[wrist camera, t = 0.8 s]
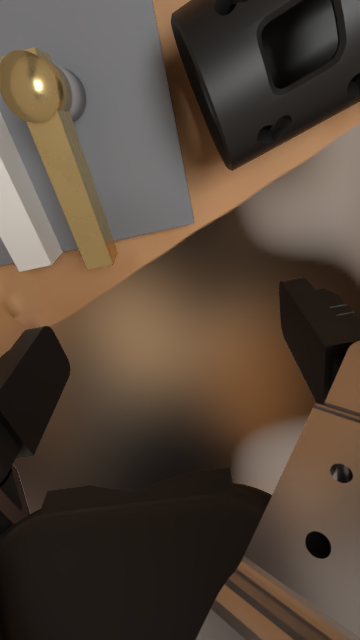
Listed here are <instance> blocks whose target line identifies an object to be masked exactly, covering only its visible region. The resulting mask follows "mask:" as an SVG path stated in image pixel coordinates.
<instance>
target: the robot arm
mask: <svg viewBox="0 0 360 640" xmlns="http://www.w3.org/2000/svg"><path fill="white" fill-rule="evenodd" d="M279 299H280V317H281V328H282V332H283V336H284V339H285V341H286V343H287V345H288V347H289V349H290V351H291V353H292V355H293V357H294V359H295V361H296V363H297V365H298V367H299V369H300V371H301V373H302V375H303V377H304V379H305V381H306V383H307V385H308V387H309V389H310V391H311V393H312V395H313V397H314V399H315V401H316V404H315V405H314V407H313V409H312V411H311V413H310V415H309V418H308V419H307V422H306V424H305V426H304V428H303V430H302V432H301V434H300V437H299V439H298V441H297V443H296V445H295V447H294V450H293V452H292V454H291V456H290V458H289V460H288V462H287V465H286V467H285V469H284V471H283V473H282V475H281V477H280V480H279V482H278V484H277V486H276V488H275V490H274V492H273V494H272V495H271V494H269V493H267V492H264V491H262V490H259V489H257V488H254V487H251V486H247V485H243V484H237V483H233V479H232V475H231V470H230V468H224V469H216V470H208V471H200V472H192V473H185V474H181V475H178V476H176V477H173V478H171V479H168V480H165V481H163V482H160V483H158V484H155V485H153V486H150V487H147V488H145V489H142V490H140V491H137V492H127V491H120V490H114V489H107V488H102V487H96V486H83V487H75V488H68V489H60V490H53V491H48V492H47V494H46V497H45V500H44V503H43V505H42V508H41V509H39V510H37V511H36V512H34V513H32V514H30V511H29V507H28V504H27V501H26V497H25V494H24V490H23V487H22V484H21V481H20V477H19V474H18V471H17V469H16V468H15V467H14V465H13V463H14V461H15V459H16V458H20V457H27V456H33V455H34V454H35V452H36V449H37V447H38V445H39V443H40V440H41V438H42V436H43V434H44V431H45V429H46V427H47V425H48V423H49V420H50V418H51V416H52V414H53V411H54V409H55V407H56V405H57V402H58V400H59V398H60V396H61V394H62V391H63V389H64V387H65V385H66V382H67V380H68V378H69V375H70V364H69V361H68V358H67V356H66V355H65V353H64V351H63V349H62V347H61V345H60V343H59V341H58V339H57V337H56V336H55V333H54V332H53V330H52V329H51V328H50V327H48V326H44V327H39V328H34V329H28V330H26V331H24V332H23V333H22V335H21V336H20V337H19V339H18V340H17V341H16V343H15V344H14V345H13V347H12V348H11V349H10V350H9V351H8V352H6V353H5V354H4V355H3V356H1V358H0V640H360V317H359V316H358V315H357V314H356V313H354V311H353V310H352V309H351V308H350V307H349V306H347V305H346V303H345V302H344V301H343V300H342V299H341V298H340V297H339V295H337V294H335V293H333V292H330V291H327V290H326V289H320V290H315V289H314V288H313V287H312V285H311V284H310V283H309V282H308V281H307V279H306V278H304V277H302V278H297V279H291V280H286V281H281V282H280V283H279Z"/></svg>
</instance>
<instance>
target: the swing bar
mask: <svg viewBox="0 0 360 640" xmlns="http://www.w3.org/2000/svg"><path fill="white" fill-rule="evenodd" d="M0 59H1V63H0V93H1V96H2V98H3V100H4V102H5V103H6V105H7V106H8V108H9V109H10V110H11V111H12V112H13V113H14V114H15V115H16V116H18V117H19V118H21V119H22V120H25V121H26V122H27V125H28V127H29V130H30V132H31V135H32V137H33V139H34V142H35V144H36V147H37V149H38V151H39V154H40V156H41V159H42V161H43V164H44V166H45V168H46V171H47V173H48V176H49V178H50V181H51V183H52V185H53V188H54V190H55V193H56V195H57V198H58V200H59V202H60V205H61V207H62V210H63V212H64V214H65V217H66V219H67V222H68V224H69V227H70V229H71V231H72V234H73V236H74V239H75V241H76V244H77V246H78V248H79V251H80V253H81V256H82V258H83V261H84V263H85V265H86V268H87V270H90V269H95V268H100V267H104V266H109V265H113V263H114V261H115V258H116V256H117V254H118V252H117V249H116V246H115V243H114V240H113V237H112V234H111V231H110V229H109V226H108V223H107V220H106V217H105V214H104V211H103V208H102V205H101V202H100V199H99V196H98V194H97V191H96V188H95V185H94V182H93V179H92V176H91V173H90V170H89V167H88V164H87V161H86V159H85V156H84V153H83V150H82V147H81V144H80V141H79V138H78V135H77V132H76V129H75V127H74V124H73V121H72V118H71V115H70V112H69V111H70V109H71V106H72V90H71V86H70V83H69V81H68V79H67V77H66V75H65V74H64V72H63V71H62V70H61V69H60V68H59V67H58V66H57V65H56V64H54V63H53V62H52V59H51V57H50V55H49V54H47V53H45V52H43V51H41V50H39V49H37V48H35V47H33V48H30V49H26V50H16V51H12V52H10V53H8V54H7V55H6V56H3V57H0Z"/></svg>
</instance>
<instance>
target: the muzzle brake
mask: <svg viewBox="0 0 360 640" xmlns="http://www.w3.org/2000/svg"><path fill="white" fill-rule="evenodd" d="M171 25H172V30H173V33H174V37H175V40H176V44H177V47H178V50H179V53H180V56H181V59H182V62H183V65H184V68H185V70H186V73H187V76H188V79H189V81H190V84H191V87H192V89H193V92H194V95H195V97H196V100H197V102H198V105H199V107H200V110H201V112H202V115H203V117H204V120H205V122H206V125H207V127H208V129H209V132H210V134H211V136H212V139H213V141H214V143H215V145H216V147H217V150H218V152H219V154H220V156H221V158H222V160H223V162H224V163H225V165H226V167H227V168H228V169H229V170H232V171H233V170H234V169H236V168H238V167H240V166H242V165H244V164H245V163H247V162H249V161H251V160H253V159H255V158H257V157H258V156H260V155H262V154H264V153H266V152H268V151H269V150H271V149H273V148H275V147H277V146H279V145H280V144H282V143H284V142H286V141H288V140H290V139H292V138H293V137H295V136H297V135H299V134H301V133H303V132H304V131H306V130H308V129H310V128H312V127H314V126H315V125H317V124H319V123H321V122H323V121H325V120H327V119H328V118H330V117H332V116H334V115H336V114H338V113H339V112H341V111H343V110H345V109H347V108H349V107H350V106H352V105H354V104H356V103H358V102H360V0H191V1H189V2H188V3H186V4H185V5H184V6H182V7H181V8H179V9H178V10H177V11H175V12H174V13H172V17H171Z"/></svg>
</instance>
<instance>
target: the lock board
mask: <svg viewBox="0 0 360 640" xmlns="http://www.w3.org/2000/svg"><path fill="white" fill-rule="evenodd" d="M33 47H35V48H37V49H39V50H41V51H43V52H45V53H47V54H49V55H50V57H51V59H52V62H53V63H54V64H56V65H57V66H58V67H59V68H60V69H61V70H62V71H63V72H64V74H65V75H66V77H67V79H68V81H69V83H70V86H71V90H72V106H71V109H70V111H69V112H70V115H71V118H72V121H73V124H74V127H75V129H76V132H77V135H78V138H79V141H80V144H81V147H82V150H83V153H84V156H85V159H86V161H87V164H88V167H89V170H90V173H91V176H92V179H93V182H94V185H95V188H96V191H97V194H98V196H99V199H100V202H101V205H102V208H103V211H104V214H105V217H106V220H107V223H108V226H109V229H110V231H111V234H112V237H113V240H114V241H116V240H121V239H125V238H130V237H134V236H139V235H143V234H148V233H152V232H157V231H162V230H166V229H171V228H175V227H180V226H184V225H189V224H193V223H194V217H193V212H192V207H191V202H190V196H189V191H188V186H187V180H186V175H185V170H184V165H183V159H182V154H181V149H180V144H179V138H178V133H177V128H176V123H175V117H174V112H173V107H172V102H171V96H170V91H169V86H168V80H167V75H166V70H165V65H164V59H163V54H162V49H161V44H160V38H159V33H158V28H157V23H156V17H155V12H154V7H153V2H152V0H0V57H3V56H6V55H7V54H8V53H10V52H12V51H16V50H26V49H30V48H33ZM0 63H1V59H0ZM75 249H79V248H78V246H77V244H76V241H75V239H74V236H73V234H72V231H71V229H70V227H69V224H68V222H67V219H66V217H65V214H64V212H63V210H62V207H61V205H60V202H59V200H58V198H57V195H56V193H55V190H54V188H53V185H52V183H51V181H50V178H49V176H48V173H47V171H46V168H45V166H44V164H43V161H42V159H41V156H40V154H39V151H38V149H37V147H36V144H35V142H34V139H33V137H32V135H31V132H30V130H29V127H28V125H27V122H26V121H25V120H22V119H21V118H19V117H18V116H16V115H15V114H14V113H13V112H12V111H11V110H10V109H9V108H8V106H7V105H6V103H5V102H4V100H3V98H2V96H1V93H0V266H3V265H7V264H12V263H15V265H16V267H17V269H18V270H19V272H22V271H26V270H31V269H36V268H40V267H45V266H49V265H52V264H53V263H54V262H55V261H56V260H57V258H58V257H59V256H60V255H61V254H62V253H63V252H66V251H71V250H75Z"/></svg>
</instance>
